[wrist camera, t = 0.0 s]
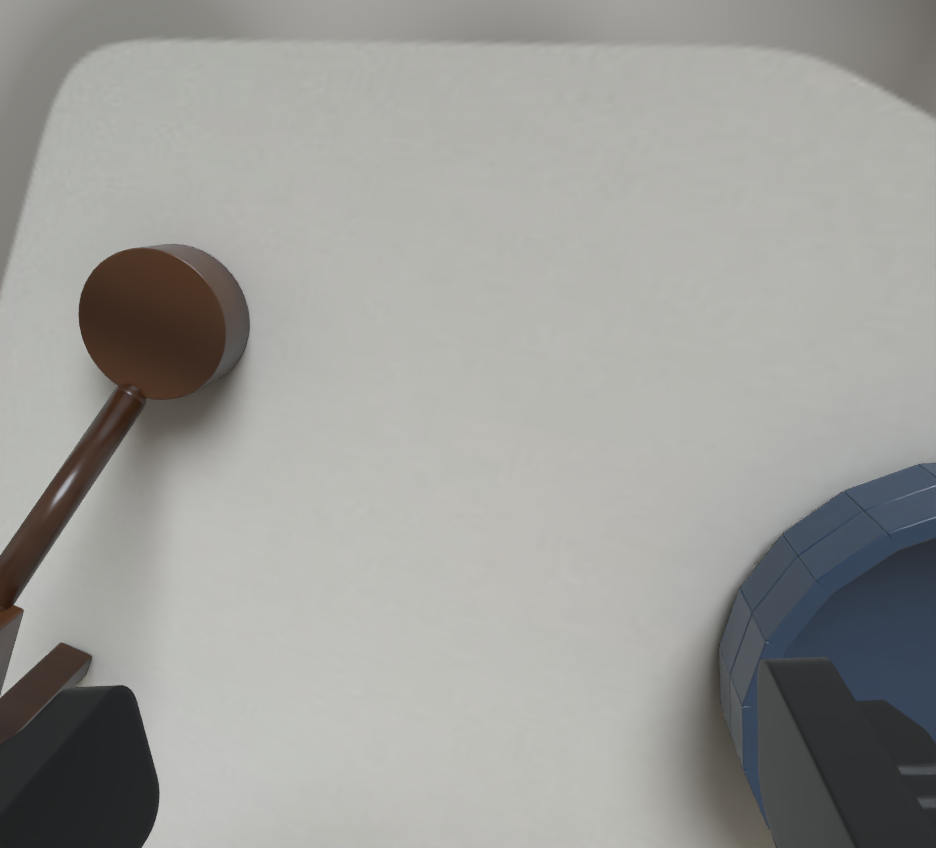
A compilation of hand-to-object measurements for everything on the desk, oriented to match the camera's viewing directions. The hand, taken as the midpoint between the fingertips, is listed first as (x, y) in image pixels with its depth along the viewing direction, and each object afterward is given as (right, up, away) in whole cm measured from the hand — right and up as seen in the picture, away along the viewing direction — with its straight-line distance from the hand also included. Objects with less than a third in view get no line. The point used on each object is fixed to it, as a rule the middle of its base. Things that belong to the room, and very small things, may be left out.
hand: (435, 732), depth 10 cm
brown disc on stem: (-14, +2, +23) cm, 27 cm away
